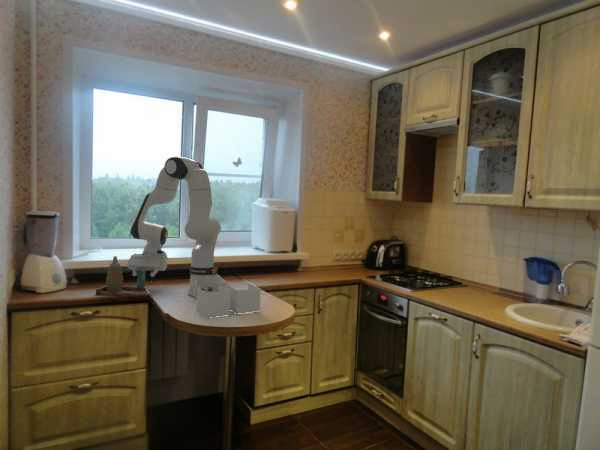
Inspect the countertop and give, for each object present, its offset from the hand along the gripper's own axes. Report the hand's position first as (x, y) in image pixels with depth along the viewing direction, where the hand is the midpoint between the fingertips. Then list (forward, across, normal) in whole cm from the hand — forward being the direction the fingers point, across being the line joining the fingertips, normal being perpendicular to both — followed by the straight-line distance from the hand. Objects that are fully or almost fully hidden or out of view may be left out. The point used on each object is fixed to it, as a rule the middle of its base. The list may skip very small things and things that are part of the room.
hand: (142, 275), depth 206 cm
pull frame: (+11, -7, 0) cm, 13 cm away
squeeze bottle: (+11, -11, 0) cm, 15 cm away
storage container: (+28, +52, -16) cm, 61 cm away
